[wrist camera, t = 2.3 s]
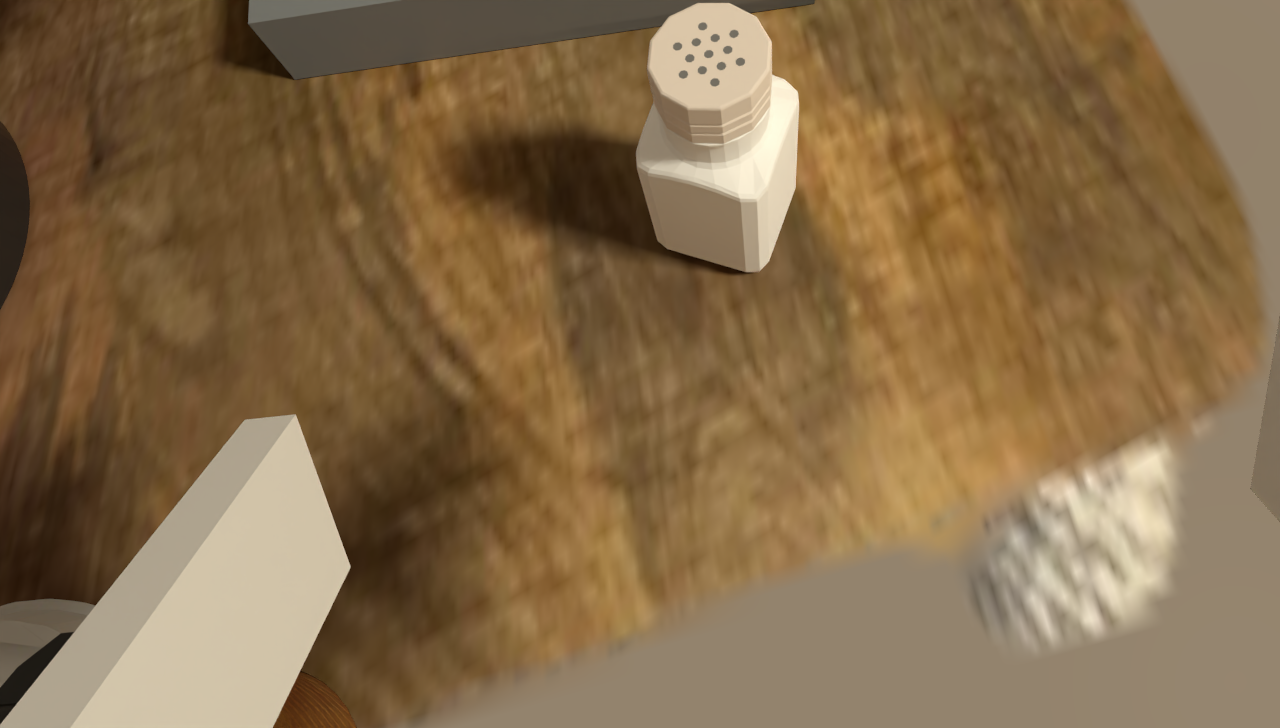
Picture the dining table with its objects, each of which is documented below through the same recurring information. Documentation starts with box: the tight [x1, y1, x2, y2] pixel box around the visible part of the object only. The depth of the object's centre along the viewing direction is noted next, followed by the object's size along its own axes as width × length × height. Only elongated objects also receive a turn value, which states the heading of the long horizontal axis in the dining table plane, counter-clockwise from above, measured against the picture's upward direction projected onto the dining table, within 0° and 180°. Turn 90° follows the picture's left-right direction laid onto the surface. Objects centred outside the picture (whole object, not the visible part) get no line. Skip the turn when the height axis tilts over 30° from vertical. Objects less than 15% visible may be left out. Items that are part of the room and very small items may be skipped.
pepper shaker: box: [636, 3, 799, 272], centre depth 29 cm, size 4×4×10 cm
